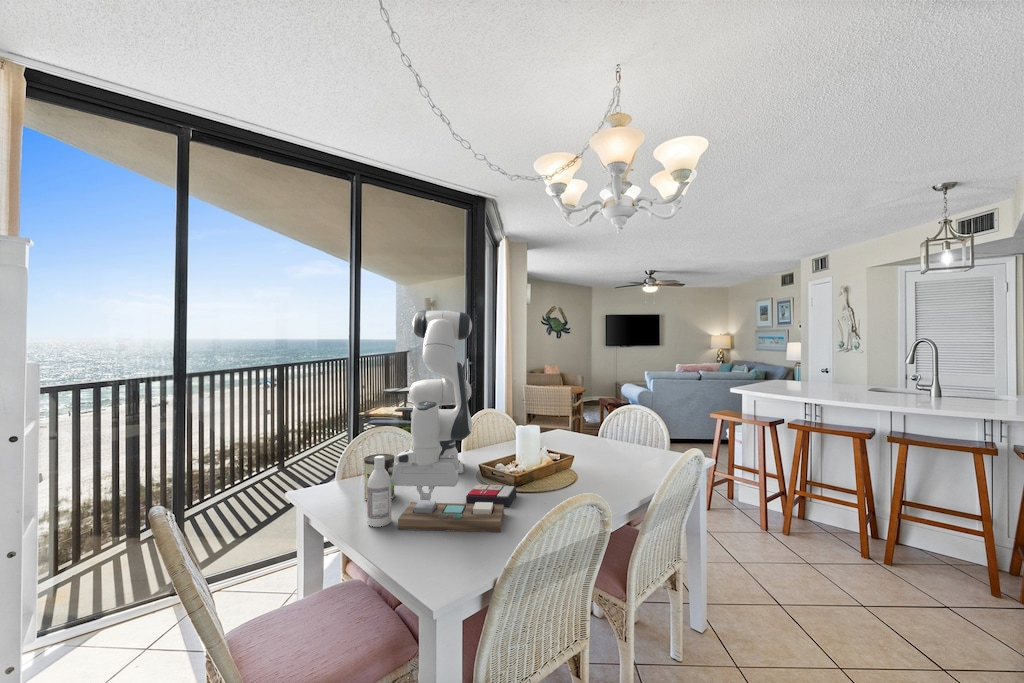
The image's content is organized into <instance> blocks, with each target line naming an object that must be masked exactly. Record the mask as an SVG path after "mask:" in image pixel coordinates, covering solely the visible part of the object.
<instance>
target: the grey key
mask: <svg viewBox="0 0 1024 683" xmlns="http://www.w3.org/2000/svg"><path fill="white" fill-rule="evenodd" d="M436 503H437V501H436V500H418V501H417V504H416V506H415V507H414V513H433V512H434V510H435V509H436Z"/></svg>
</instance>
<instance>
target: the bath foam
mask: <svg viewBox="0 0 1024 683" xmlns="http://www.w3.org/2000/svg"><path fill="white" fill-rule="evenodd" d="M384 466H385V457H384V456H376V457H375V458H374V468H375V469H374V471H373V472H372V474H371V475H370V477H369V480H368V485H367V501H366V502H367V512H366V513H367V518H366V519H367V524H368V526H369V525H370V526H369V527H372V526H373V528H382V527H385V526H387V525H389V524H390V523H391V522H392V499H391V478H390V476H389V474H388V472H387V471H386V470H385V468H384ZM381 526H382V527H381Z"/></svg>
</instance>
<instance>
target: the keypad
mask: <svg viewBox="0 0 1024 683" xmlns="http://www.w3.org/2000/svg"><path fill="white" fill-rule="evenodd" d="M417 503H418V501H417V502H415V501H414V502H413V501H412V502H410V503H409V504H408V506H407V507H406V508H405V509H404V511H402V513H401V514H400V516H399V517H398V518H397V529H398V530H409V529H420V531H446V530H450V531H451V530H452V531H453V530H454V531H453V532H482V531H487V533H491V532H492V533H494V532H495V533H501V531H502V526H503V520H504V515H505V507H504V505H502V504H493V511H492V514H491V515H483V514H473V507H474V505H475V504H466V503H461V502H460V503H458V502H457V503H453V502H449V503H448V502H436V509H435V510H434V512H433V513H414V507H415V506H416V504H417ZM447 505H456V506H465V510H464V512H463V514H443V512H444V510H445V508H446V507H447ZM452 531H451V532H452ZM488 531H490V532H488Z"/></svg>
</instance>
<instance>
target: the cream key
mask: <svg viewBox="0 0 1024 683" xmlns="http://www.w3.org/2000/svg"><path fill="white" fill-rule="evenodd" d="M492 511H493V503H491V502H475V505H474V507H473V514H483V515H491V514H492Z"/></svg>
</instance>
